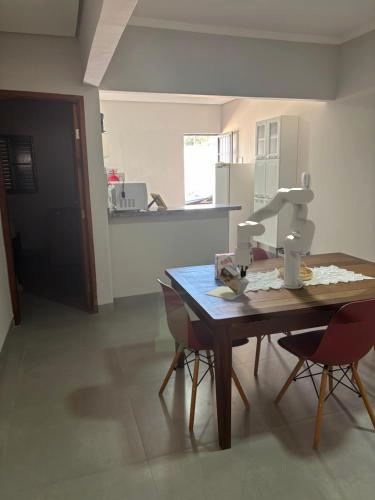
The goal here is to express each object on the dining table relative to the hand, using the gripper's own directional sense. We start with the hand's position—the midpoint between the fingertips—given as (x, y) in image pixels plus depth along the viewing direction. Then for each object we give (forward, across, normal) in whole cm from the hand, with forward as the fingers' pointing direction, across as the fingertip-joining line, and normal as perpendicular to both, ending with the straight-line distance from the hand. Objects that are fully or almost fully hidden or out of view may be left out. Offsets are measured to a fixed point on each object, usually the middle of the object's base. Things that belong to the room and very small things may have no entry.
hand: (243, 276), depth 213 cm
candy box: (+12, +28, -26) cm, 40 cm away
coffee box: (+7, 0, 0) cm, 7 cm away
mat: (+11, +11, +1) cm, 16 cm away
